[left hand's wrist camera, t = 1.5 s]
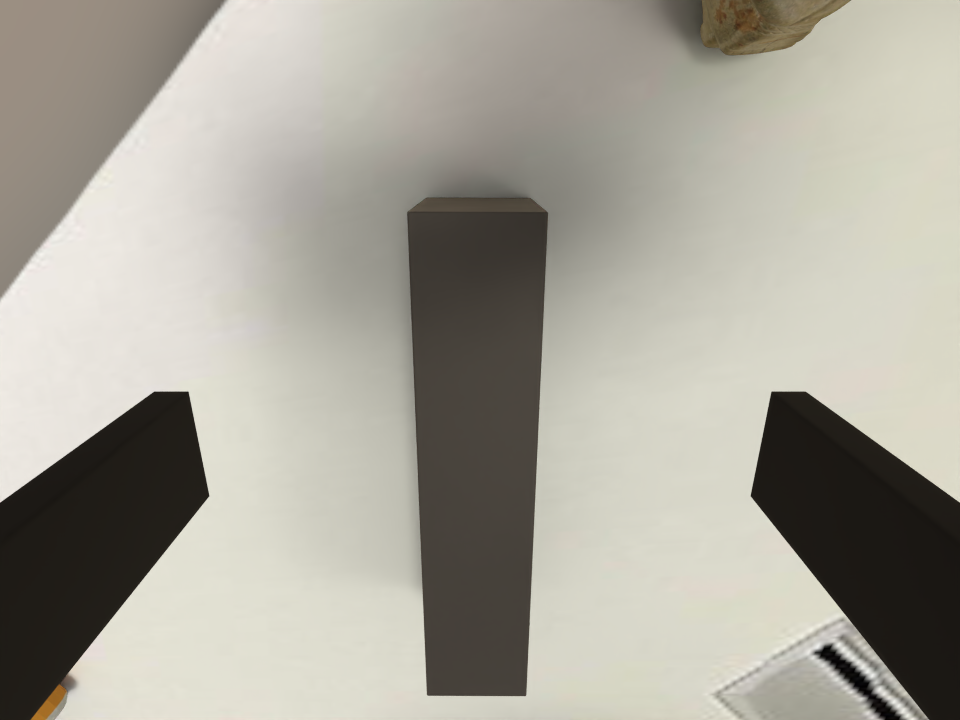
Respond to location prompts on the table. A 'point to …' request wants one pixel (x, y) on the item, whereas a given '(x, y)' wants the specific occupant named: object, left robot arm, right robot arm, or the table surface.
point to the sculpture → (761, 23)
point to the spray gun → (52, 705)
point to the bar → (477, 433)
